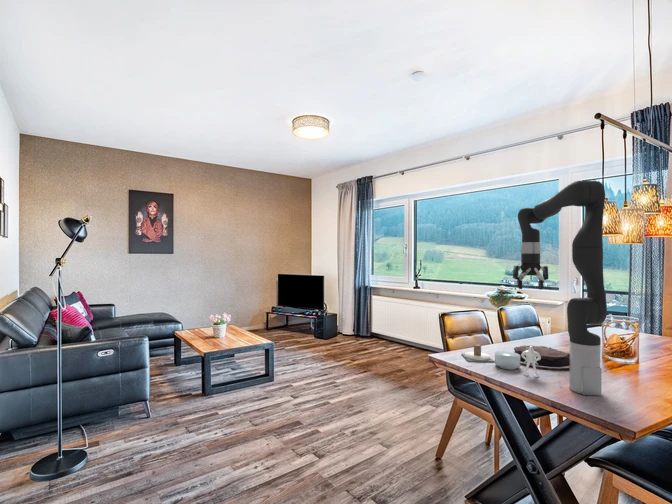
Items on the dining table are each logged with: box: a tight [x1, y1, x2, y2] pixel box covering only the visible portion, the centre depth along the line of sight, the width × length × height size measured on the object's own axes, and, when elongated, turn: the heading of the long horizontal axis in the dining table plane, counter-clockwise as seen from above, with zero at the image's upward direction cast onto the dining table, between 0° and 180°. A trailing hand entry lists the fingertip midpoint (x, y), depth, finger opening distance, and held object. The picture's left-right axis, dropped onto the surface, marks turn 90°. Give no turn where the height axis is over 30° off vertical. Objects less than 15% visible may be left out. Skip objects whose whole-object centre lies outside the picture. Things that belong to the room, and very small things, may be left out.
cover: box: [465, 344, 491, 361], centre depth 173 cm, size 11×11×6 cm
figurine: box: [521, 345, 541, 378], centre depth 149 cm, size 7×4×12 cm, turn 59°
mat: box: [461, 352, 495, 363], centre depth 173 cm, size 12×12×1 cm
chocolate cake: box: [513, 345, 570, 371], centre depth 170 cm, size 28×28×7 cm
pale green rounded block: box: [494, 350, 521, 370], centre depth 160 cm, size 10×10×6 cm
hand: (530, 289), depth 165 cm, fingers open, 8 cm apart
